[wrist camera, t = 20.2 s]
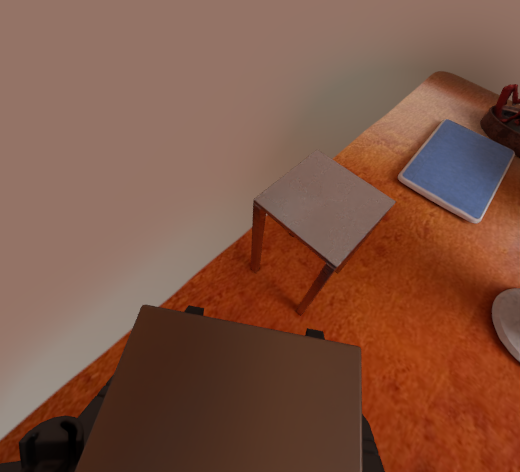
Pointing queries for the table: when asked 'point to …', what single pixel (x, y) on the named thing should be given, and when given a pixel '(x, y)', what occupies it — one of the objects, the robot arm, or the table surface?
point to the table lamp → (508, 319)
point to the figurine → (504, 120)
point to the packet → (227, 400)
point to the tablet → (458, 170)
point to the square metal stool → (320, 214)
